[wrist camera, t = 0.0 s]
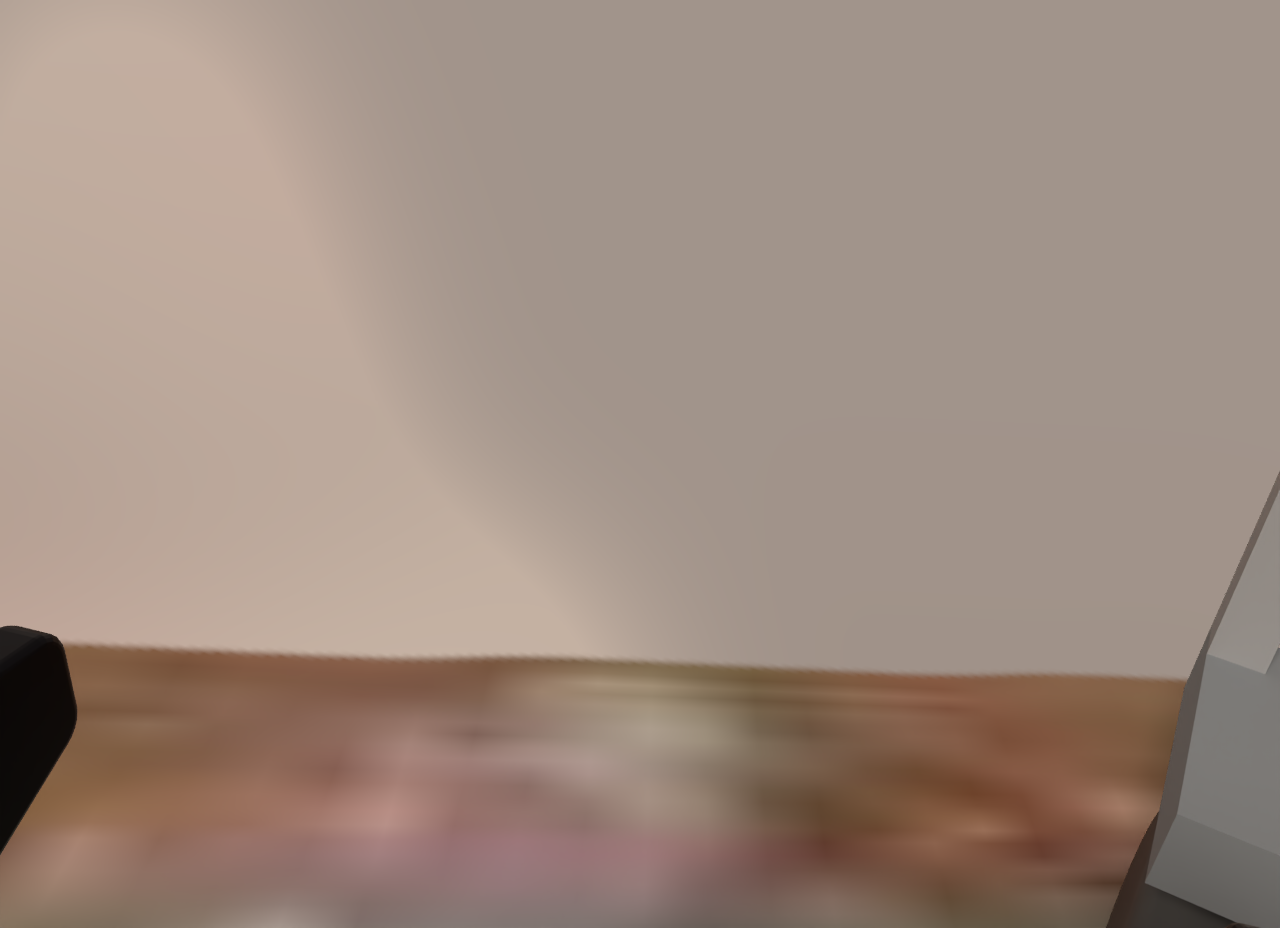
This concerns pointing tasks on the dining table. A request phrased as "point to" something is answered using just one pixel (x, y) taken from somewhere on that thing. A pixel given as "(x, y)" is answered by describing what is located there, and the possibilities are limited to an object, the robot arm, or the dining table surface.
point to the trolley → (1222, 768)
